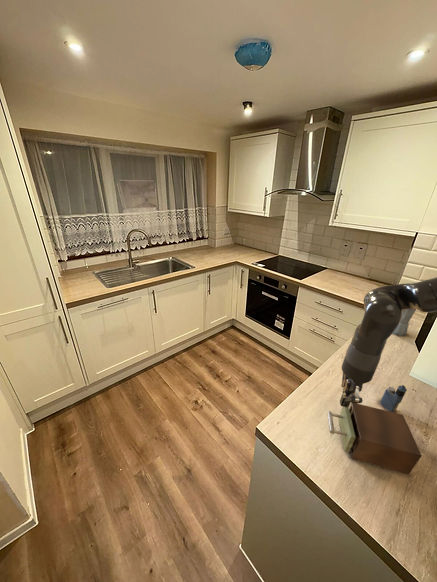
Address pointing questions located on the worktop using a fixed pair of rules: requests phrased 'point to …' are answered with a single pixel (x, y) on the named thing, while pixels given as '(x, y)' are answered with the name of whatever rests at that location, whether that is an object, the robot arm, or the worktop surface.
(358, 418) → the cabinet
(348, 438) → the drawer
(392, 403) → the vaping device
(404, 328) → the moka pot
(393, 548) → the worktop surface
